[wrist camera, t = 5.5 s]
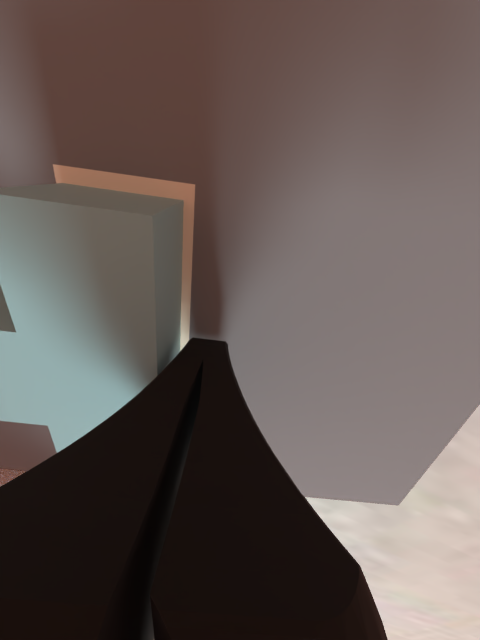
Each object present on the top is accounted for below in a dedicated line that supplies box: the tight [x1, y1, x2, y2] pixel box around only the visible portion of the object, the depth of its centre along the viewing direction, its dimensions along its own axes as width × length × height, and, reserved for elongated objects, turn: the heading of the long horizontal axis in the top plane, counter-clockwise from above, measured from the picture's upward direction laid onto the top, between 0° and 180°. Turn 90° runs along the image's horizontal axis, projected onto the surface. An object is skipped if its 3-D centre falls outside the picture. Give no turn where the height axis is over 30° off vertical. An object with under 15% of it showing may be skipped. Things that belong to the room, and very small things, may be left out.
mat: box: [0, 0, 480, 505], centre depth 11 cm, size 20×26×1 cm
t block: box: [0, 183, 184, 453], centre depth 9 cm, size 10×10×3 cm
